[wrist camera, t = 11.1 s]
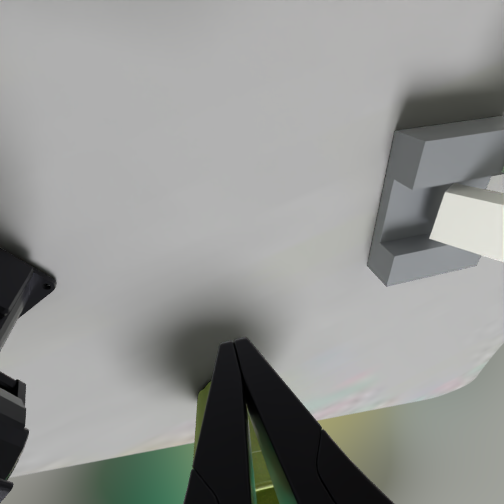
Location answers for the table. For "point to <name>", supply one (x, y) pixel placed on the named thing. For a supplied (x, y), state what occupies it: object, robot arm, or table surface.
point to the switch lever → (471, 221)
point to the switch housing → (430, 195)
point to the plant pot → (263, 483)
